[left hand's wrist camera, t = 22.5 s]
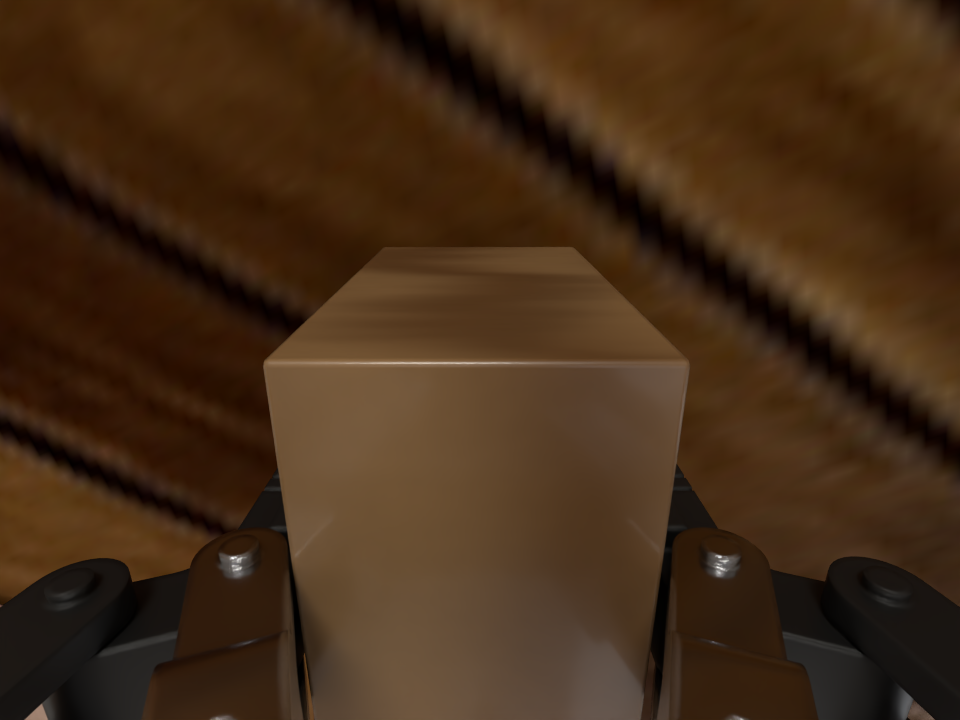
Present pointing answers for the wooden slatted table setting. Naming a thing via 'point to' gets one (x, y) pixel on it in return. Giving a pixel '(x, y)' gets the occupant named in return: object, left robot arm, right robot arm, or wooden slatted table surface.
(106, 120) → the wooden slatted table surface
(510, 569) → the block
